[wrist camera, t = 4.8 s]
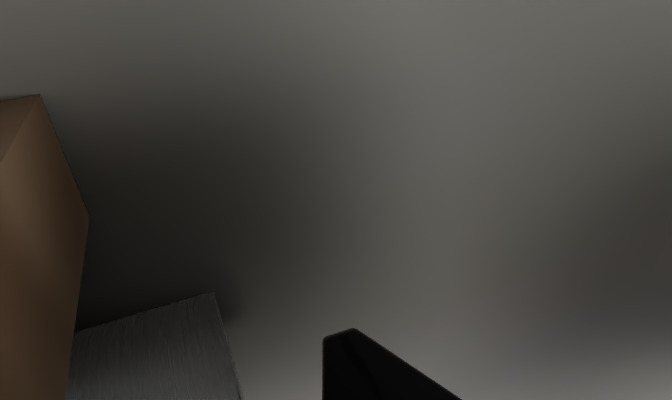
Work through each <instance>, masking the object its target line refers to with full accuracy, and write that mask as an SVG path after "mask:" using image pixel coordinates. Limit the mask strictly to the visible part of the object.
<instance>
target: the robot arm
mask: <svg viewBox="0 0 672 400" xmlns="http://www.w3.org/2000/svg"><path fill="white" fill-rule="evenodd" d="M322 400H462V399H460V398H459V397H457V396H456V395H454V394H453V393H451V392H450V391H448V390H447V389H445V388H444V387H442V386H441V385H439V384H438V383H436V382H435V381H433V380H432V379H430V378H429V377H427V376H426V375H424V374H423V373H421V372H420V371H418V370H417V369H415V368H414V367H412V366H411V365H409V364H408V363H407V362H405V361H404V360H402V359H401V358H399V357H398V356H396V355H395V354H393V353H392V352H390V351H389V350H387V349H386V348H384V347H383V346H381V345H380V344H378V343H377V342H375V341H374V340H372V339H371V338H369V337H368V336H366V335H365V334H363V333H362V332H360V331H359V330H357V329H355V328H350V329H347V330H344V331H341V332H338V333H335V334H332V335H329V336H326V337H324V339H323V343H322Z"/></svg>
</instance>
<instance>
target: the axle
mask: <svg viewBox="0 0 672 400" xmlns="http://www.w3.org/2000/svg"><path fill="white" fill-rule="evenodd" d="M65 400H244V397H243V393H242V389H241V386H240V382H239V378H238V375H237V371H236V368H235V364H234V361H233V357H232V353H231V350H230V346H229V343H228V339H227V336H226V332H225V329H224V325H223V322H222V318H221V314H220V311H219V307H218V304H217V301H216V297H215V295H214V292H213V291H212V292H209V293H205V294H202V295H199V296H195V297H192V298H189V299H185V300H182V301H179V302H175V303H172V304H168V305H165V306H162V307H158V308H155V309H152V310H148V311H145V312H142V313H138V314H135V315H132V316H128V317H125V318H121V319H118V320H115V321H111V322H108V323H105V324H101V325H98V326H95V327H91V328H88V329H85V330H81V331H78V332H74V335H73V342H72V350H71V357H70V364H69V372H68V379H67V386H66V393H65Z"/></svg>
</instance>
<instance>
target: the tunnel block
mask: <svg viewBox="0 0 672 400" xmlns="http://www.w3.org/2000/svg"><path fill="white" fill-rule="evenodd" d="M89 218H90V217H89V214H88V212H87V209H86V207H85V204H84V202H83V200H82V197H81V195H80V192H79V190H78V187H77V185H76V182H75V180H74V177H73V175H72V173H71V170H70V168H69V165H68V163H67V160H66V158H65V155H64V153H63V151H62V148H61V146H60V143H59V141H58V138H57V136H56V133H55V131H54V128H53V126H52V124H51V121H50V119H49V116H48V114H47V111H46V109H45V106H44V104H43V101H42V99H41V97H40V94H38V95H33V96H28V97H23V98H18V99H12V100H7V101H2V102H0V400H65V393H66V386H67V379H68V372H69V364H70V357H71V350H72V342H73V335H74V328H75V321H76V313H77V306H78V299H79V291H80V284H81V277H82V269H83V262H84V255H85V248H86V240H87V233H88V226H89Z"/></svg>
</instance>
